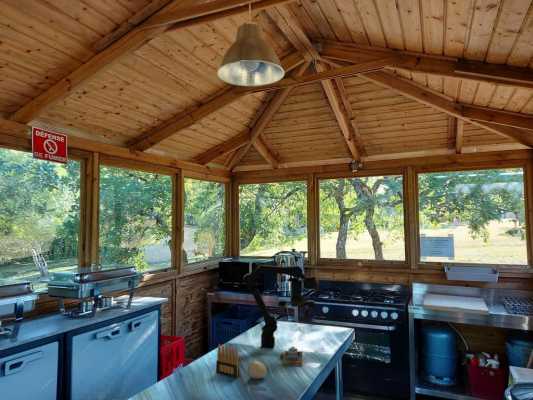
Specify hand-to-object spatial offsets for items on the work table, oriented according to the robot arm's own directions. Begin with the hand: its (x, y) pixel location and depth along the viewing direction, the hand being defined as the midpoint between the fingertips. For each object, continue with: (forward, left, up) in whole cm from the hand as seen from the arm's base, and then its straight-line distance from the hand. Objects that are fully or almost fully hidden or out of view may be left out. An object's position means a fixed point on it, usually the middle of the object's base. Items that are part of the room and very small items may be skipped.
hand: (296, 320), depth 193 cm
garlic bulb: (-14, -45, -13) cm, 49 cm away
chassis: (-1, -22, -13) cm, 25 cm away
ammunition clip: (-27, -43, -13) cm, 52 cm away
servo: (-1, -22, -13) cm, 26 cm away
